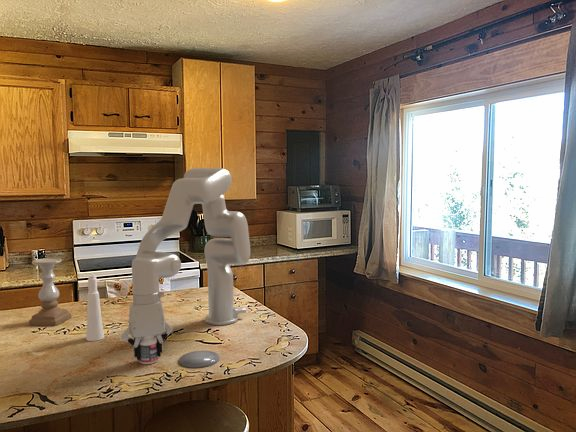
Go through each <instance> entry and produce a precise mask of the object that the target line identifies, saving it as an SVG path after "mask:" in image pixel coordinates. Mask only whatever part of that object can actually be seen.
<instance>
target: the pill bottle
mask: <svg viewBox="0 0 576 432" xmlns="http://www.w3.org/2000/svg"><path fill="white" fill-rule="evenodd" d="M141 338H142V339H141V340H140V341H139V347H140V360H138V361H139V363H140V364H142V365H151V364H154V363H157V361H158V357H159V356H157V338H156V335H154V336H146V337H141Z"/></svg>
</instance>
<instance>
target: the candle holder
mask: <svg viewBox="0 0 576 432" xmlns="http://www.w3.org/2000/svg"><path fill="white" fill-rule="evenodd" d="M62 262H63V260H62V258H61V257H45V258H38V259H34V260H32V261H31V264H32V265H35V266H39V268H40V270H41V271H42V273H41V276H39V277H40V279H41V281H42V283H43V284H42V287H41V288H40V290H39V292H38V295H37V296H38V298H39V300H40V301H41V302H40V307H41V309H40V310H39V311H38V312H37V313H35V314H33V315H32V316H31V319H29V320H28V326H29V325H30V326H31V327H32V326H33V327H57V326H60V325H61V324H63V323H64V322H66V321H68V320H70V319H72V313H71V312H69V310H68V309H61V308H60V307H58V305H59V301H58V300H57V299H58V298H59V297H60V290H59V289H58V288H57V286H56V285H55V284H54V280H55V278H56V274H55V273H54V268H55V266H56V264H59V263H62Z"/></svg>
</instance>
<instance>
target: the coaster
mask: <svg viewBox="0 0 576 432" xmlns="http://www.w3.org/2000/svg"><path fill="white" fill-rule="evenodd" d="M178 360H179V361H178V363H179V365H180V366H182V367H185V368H190V369H200V368H207V367H210V366H212V365H215V364H217V363H218V362H219V361H220V355H219V354H218V353H217V352H214V351H211V350H194V351H189V352H186V353H183V354H182V355H181V356H180V357H179V359H178Z"/></svg>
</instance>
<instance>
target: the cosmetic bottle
mask: <svg viewBox="0 0 576 432" xmlns="http://www.w3.org/2000/svg"><path fill="white" fill-rule="evenodd" d="M87 287H88V288H87V289H88V292H87V294H86V295H87V297H86V305H87V307H86V310H87V311H86V314H87V315H86V318H87V320H86V336H85V341H87V342H96V341H102V340H103V339H104V338H105V332H104V328H103V327H104V326H103V320H102V313H101V302H100V300H101V299H100V293H99V292H100V291H98V279H97V275H96V274H90V275H89V276H88V279H87Z"/></svg>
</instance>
